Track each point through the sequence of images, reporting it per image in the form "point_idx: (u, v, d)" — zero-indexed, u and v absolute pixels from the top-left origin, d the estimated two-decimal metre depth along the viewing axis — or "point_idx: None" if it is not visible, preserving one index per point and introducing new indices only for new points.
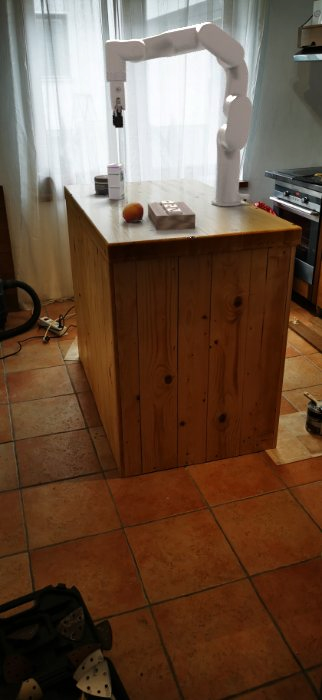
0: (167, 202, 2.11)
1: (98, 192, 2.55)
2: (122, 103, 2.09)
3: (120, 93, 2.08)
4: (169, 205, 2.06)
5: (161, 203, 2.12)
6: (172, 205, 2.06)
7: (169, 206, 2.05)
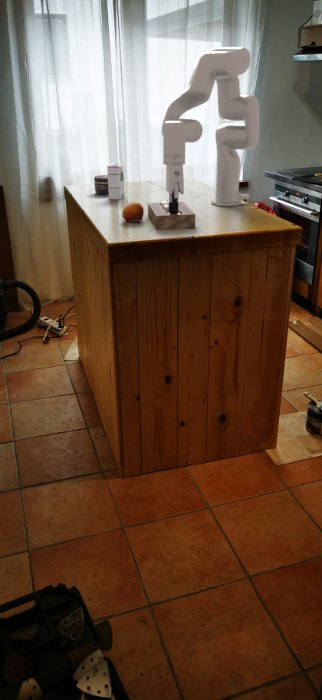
0: (167, 202, 2.11)
1: (98, 192, 2.55)
2: (180, 187, 1.92)
3: (179, 177, 1.90)
4: None
5: (161, 203, 2.12)
6: None
7: None
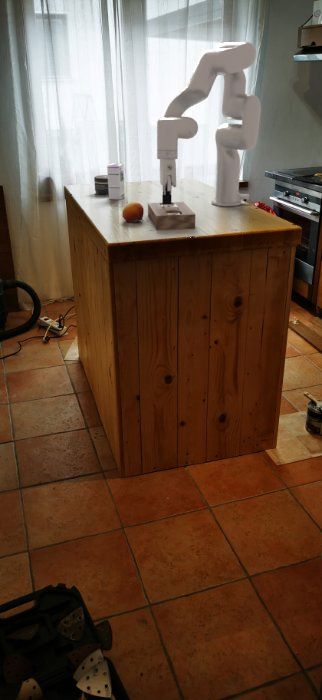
0: None
1: (98, 192, 2.55)
2: (173, 181, 2.04)
3: (171, 171, 2.03)
4: (169, 205, 2.06)
5: None
6: (172, 205, 2.06)
7: (169, 206, 2.05)
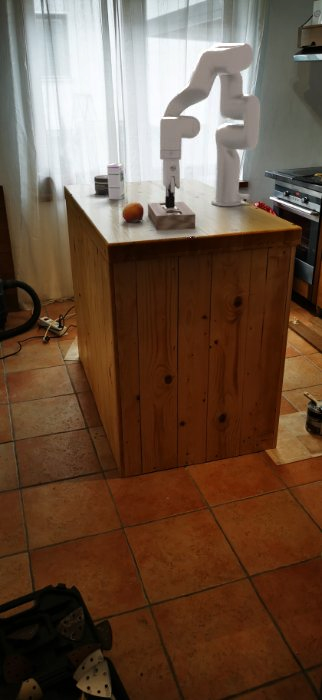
0: None
1: (98, 192, 2.55)
2: (177, 182, 1.97)
3: (175, 172, 1.96)
4: None
5: None
6: None
7: (169, 208, 2.05)
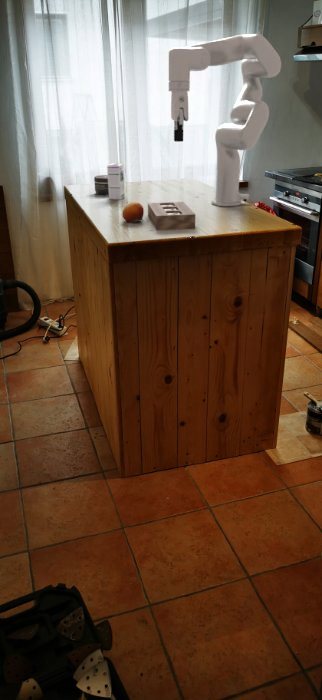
0: None
1: (98, 192, 2.55)
2: (185, 113, 1.99)
3: (184, 103, 1.98)
4: None
5: None
6: (172, 209, 2.07)
7: None
